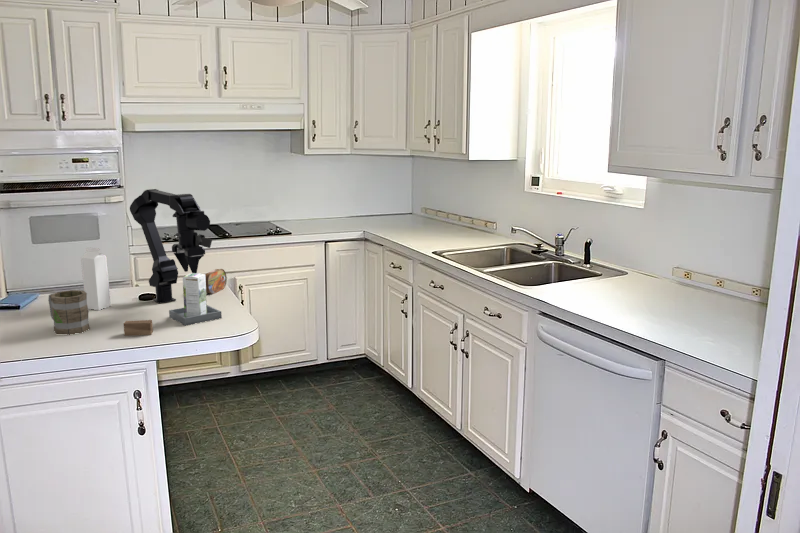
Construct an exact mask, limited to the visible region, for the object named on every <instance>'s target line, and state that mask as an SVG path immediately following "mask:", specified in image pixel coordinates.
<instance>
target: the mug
mask: <svg viewBox="0 0 800 533" xmlns="http://www.w3.org/2000/svg"><path fill="white" fill-rule="evenodd" d="M48 304H49V312H50V313H49V314H50V317H51V320H53V332H54V331H55V332H54V334H55V335H56V334H69V335H68V336H71V335H70V334H73V335H76V334H75V333H79V334H82V332H83V333H85V332H87V331H89V330H91V327H90V326H91V325H90V322H89V321H90V320H89V309H88V307H87V293H86V292H85V291H84V290H80V289H79V290H76V289H70V290H64V291H57V292H53V293H51V294H49V295H48ZM88 329H89V330H88ZM86 330H87V331H86ZM84 331H85V332H84Z"/></svg>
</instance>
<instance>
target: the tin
mask: <svg viewBox="0 0 800 533" xmlns="http://www.w3.org/2000/svg"><path fill="white" fill-rule="evenodd" d="M204 274H205V277H206V294H211V295H212V294H213V295H214V294H216V293H218V292H220V291H222V290H224V289H225V288H226V286H227V281H228V280H227V279H228V278H227V274H226V271H225V270H224V269H223V268H215V269H213V270H211V271H209V272H207V273H204Z"/></svg>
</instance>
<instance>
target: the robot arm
mask: <svg viewBox="0 0 800 533" xmlns="http://www.w3.org/2000/svg"><path fill="white" fill-rule="evenodd" d="M159 204H163V205H166V206H168V207H169V208H170V209H171V210H173V211H174V213H173V214H172V218H176V229H177V232H176V233H175V234H176V237H177V239H178V243H173V244H172V246H171V252H173V255H174V256H175V258H176V259H177V261H178V263H179V265H180V266H181V267H182V269H183V271H184V272H185V273H186V272H189V269H190V271H191V273H198V268H199V262H200V260H201V259H202V258H203V257H205V255H206V248H209V249H211V246H212V242H213V239H211V238H206V236H205V234H200V233H199V234H198V232H196V231H200V232H201V231H203V232H204V231H207V230H208V229H209V227H210V225H211V220H210V218H209V216H208V215H207V214H205V211H204V210H202V209H201V207H200V206H199V204H198V202H197V201H196V199H195V198H194V196H193V195H192V194H191V193H181V194H180V193H178V194H176V193H175V194H174V193H173V192H172V193H171V192H168V191H162V190H159V189H157V188H154V189H153V188H150V189H145V190H143V191H142V193H141V194H139V196H137V197H136V198H134V200H132V202H131V204H130V206H129V212H130V214H131V216H132V218H133V220H134V221H135V222H136V223H138V224H139V225H140V226H141V229H142V232H143V235H144V238H145V241H146V243H147V246H148V249H149V252H150V254H151V258H152V260H153V263H152V268H151V271H152V275H151V276H150V278H149V279H148V283H149V287H152V288H153V287H154V288H155V297H156V298H152V301H154V302H156V303H158V304H164V303H169V302H175V301H176V300H177V299H176V298H174V297H173V289H172V288H173V287H172V285H173V284H175V285H176V284H177V281H178V279H179V278H178V277H179V271H178V267H177V265H176V260H175V259H171V258H169V257H168V255H167V253H166V250H165V248H164V244H163V241H162V238H161V236H160V233H159V231H158V226H157V224H156V222H155V221H156V216H157V211H156V209H157V208H158V206H159ZM176 302H177V301H176Z"/></svg>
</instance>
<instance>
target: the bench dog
mask: <svg viewBox="0 0 800 533" xmlns="http://www.w3.org/2000/svg"><path fill="white" fill-rule="evenodd" d="M153 328H154V326H153V319H142V320H125V321H124V322H123V333H124V335H123V336H125V337H131V336H132V337H133V336H152V334H153V332H154V329H153Z"/></svg>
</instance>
